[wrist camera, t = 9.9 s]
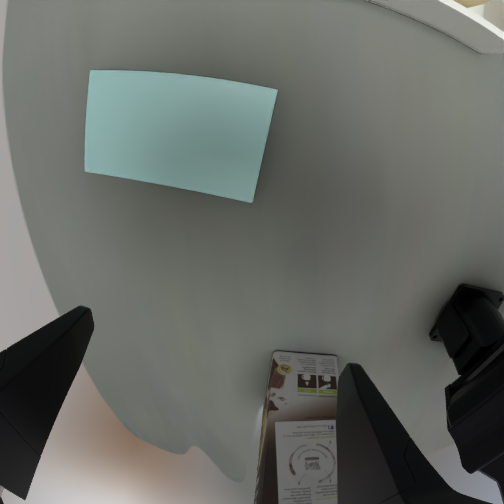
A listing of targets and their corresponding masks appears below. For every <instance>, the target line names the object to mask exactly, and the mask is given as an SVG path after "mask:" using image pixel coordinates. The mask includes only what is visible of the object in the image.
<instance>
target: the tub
mask: <svg viewBox="0 0 504 504" xmlns="http://www.w3.org/2000/svg"><path fill="white" fill-rule="evenodd" d="M364 1H367V2H370V3H373V4H376V5H379V6H382V7H384V8H387V9H390V10H392V11H395V12H397V13H400V14H402V15H405V16H407V17H410V18H412V19H414V20H417V21H419V22H421V23H423V24H425V25H428V26H430V27H432V28H434V29H436V30H438V31H440V32H442V33H444V34H446V35H448V36H450V37H452V38H453V39H455V40H457V41H459V42H461V43H463V44H464V45H466V46H468V47H470V48H471V49H473V50H475V51H476V52H478V53H504V0H364Z"/></svg>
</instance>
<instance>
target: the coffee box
mask: <svg viewBox="0 0 504 504" xmlns="http://www.w3.org/2000/svg"><path fill="white" fill-rule="evenodd" d="M338 379H339V372H338V362H337V357H336V356H330V355H315V354H303V353H292V352H282V351H275V352H274V353H273V356H272V361H271V367H270V372H269V378H268V383H267V388H266V393H265V398H264V407H263V418H262V428H261V439H260V449H259V459H258V468H257V480H256V490H255V500H254V504H337V445H336V406H337V389H338Z"/></svg>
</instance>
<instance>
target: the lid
mask: <svg viewBox="0 0 504 504" xmlns="http://www.w3.org/2000/svg"><path fill="white" fill-rule="evenodd" d="M277 92H278V89H274V88H269V87H264V86H259V85H254V84H248V83H243V82H237V81H231V80H225V79H218V78H211V77H204V76H196V75H187V74H177V73H166V72H152V71H133V70H90V78H89V87H88V98H87V110H86V127H85V172H91V173H97V174H104V175H110V176H116V177H122V178H127V179H133V180H139V181H144V182H150V183H155V184H161V185H166V186H171V187H177V188H182V189H187V190H192V191H197V192H202V193H207V194H212V195H217V196H221V197H226V198H231V199H235V200H240V201H245V202H249V203H253V199H254V194H255V190H256V185H257V181H258V176H259V172H260V167H261V163H262V158H263V154H264V149H265V145H266V140H267V136H268V131H269V127H270V122H271V118H272V114H273V109H274V105H275V100H276V96H277Z"/></svg>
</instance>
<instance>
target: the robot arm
mask: <svg viewBox="0 0 504 504" xmlns="http://www.w3.org/2000/svg"><path fill="white" fill-rule="evenodd" d="M462 290H463V291H462ZM503 300H504V295H503V293H500V292H496V291H492V290H487V289H483V288H479V287H474V286H470V285H466V284H463V285H461V286H459V288H458V289H457V291H456V293H455V294H454V296H453V298H452V300H451V301H450V303H449V305H448V306H447V308H446V309H445V311H444V313H443V314H442V316H441V317H440V319H439V321H438V322H437V324H436V325H435V327H434V328H433V330H432V331H431V333H430V335H429V337H430V339H431V340H432V341H440V342H443V343H444V345H445V348H446V350H447V352H448V355H449V357H450V358H452V360H453V362H454V365H455V367H456V370H457V372H458V375H461V376H460V377H459V378H458V379H457V380H455V381H454V382H453V383H452V384H449V385H448V386H447V387H446V388H445V397H446V412H447V427H448V431H449V433H450V435H451V436H452V438H453V439H454V441H455V444H456V446H457V448H458V452H459V455H460V459H461V464H462V467H463V468H464V469H465V470H466V471H467V472H468V473H470V474H472V473H474V472H475V471H480V472H481V473H483V474H484V475H486V476H488V477H489V478H491V479H493V480H494V481H496V482H497V484H498V487H499V490H500V493H501V497H502V500H503V503H504V319H503V317H502V316H501V314H500V313H499V311H498V308H499V307H500V305H501V304H502V302H503ZM93 330H94V321H93V316H92V312H91V309H90V308H88V307H85V306H78V307H76V308H74V309H73V310H71V311H69V312H67V313H66V314H64V315H62V316H60V317H59V318H57V319H55V320H54V321H52V322H50V323H48V324H47V325H45V326H43V327H42V328H40V329H39V330H37V331H35V332H33V333H32V334H30V335H28V336H27V337H25V338H23V339H22V340H20V341H18V342H17V343H15V344H13V345H12V346H10V347H8V348H7V350H3V351H2V352H0V504H4V503H3V501H2V498H1V494H2V492H3V489H4V488H5V489H7V490H9V491H10V492H12V493H13V494H15V495H17V496H19V497H20V498H22V499H24V500H25V499H26V497H27V494H28V491H29V488H30V485H31V482H32V479H33V477H34V473H35V471H36V468H37V466H38V463H39V460H40V457H41V456H40V455H41V454H42V452H43V449H44V447H45V444H46V442H47V439H48V437H49V434H50V432H51V429H52V427H53V425H54V422H55V420H56V417H57V415H58V413H59V411H60V408H61V406H62V404H63V402H64V400H65V397H66V395H67V393H68V391H69V388H70V387H71V384H72V382H73V380H74V378H75V376H76V374H77V372H78V370H79V367H80V365H81V363H82V360H83V357H84V355H85V352H86V349H87V346H88V344H89V341H90V338H91V336H92V333H93ZM336 445H337V504H492V503H488V502H485V501H482V500H478V499H475V498H472V497H469V496H466V495H463V494H460V493H458V492H456V491H455V490H453V489H452V488H451V487H450V486H449V485H448V484H447V483H446V482H445V481H444V479H443V478H442V477H441V476H440V475H439V474H438V472H437V471H436V470H435V469H434V468H433V466H432V465H431V464H430V463H429V462H428V460H427V459H426V458H425V457H424V455H423V454H422V453H421V451H420V450H419V448H418V447H417V446H416V444H415V443H414V441H413V440H412V438H410V436H409V434H408V433H407V431H406V430H405V428H404V427H403V425H402V424H401V422H400V421H399V420H398V418H397V417H396V415H395V414H394V412H393V411H392V409H391V408H390V407H389V405H388V404H387V402H386V401H385V399H384V398H383V396H382V395H381V394H380V392H379V391H378V389H377V388H376V386H375V385H374V384H373V382H372V381H371V379H370V378H369V377H368V375H367V374H366V372H365V371H364V369H363V368H362V367H361V365H359V364H356V363H348V364H347V365H346V367H345V368H344V370H343V372H342V373H341V375H340V377H339V379H338V389H337V406H336Z"/></svg>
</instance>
